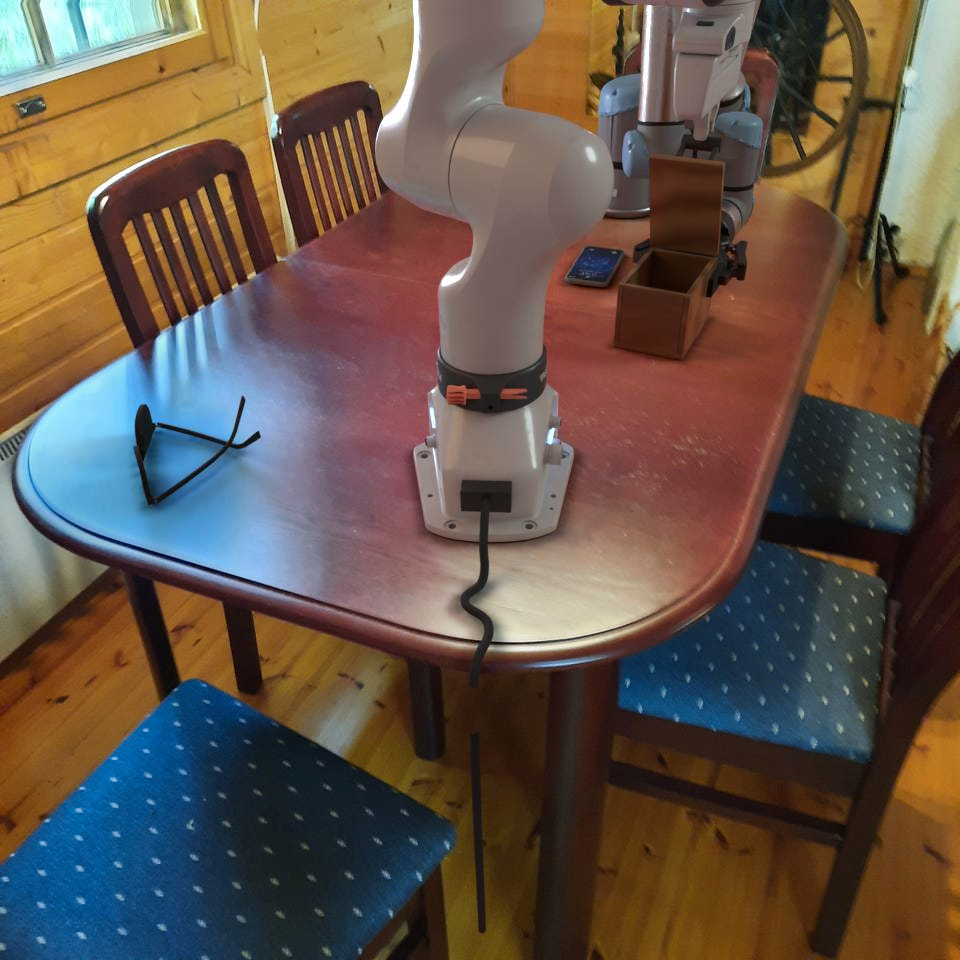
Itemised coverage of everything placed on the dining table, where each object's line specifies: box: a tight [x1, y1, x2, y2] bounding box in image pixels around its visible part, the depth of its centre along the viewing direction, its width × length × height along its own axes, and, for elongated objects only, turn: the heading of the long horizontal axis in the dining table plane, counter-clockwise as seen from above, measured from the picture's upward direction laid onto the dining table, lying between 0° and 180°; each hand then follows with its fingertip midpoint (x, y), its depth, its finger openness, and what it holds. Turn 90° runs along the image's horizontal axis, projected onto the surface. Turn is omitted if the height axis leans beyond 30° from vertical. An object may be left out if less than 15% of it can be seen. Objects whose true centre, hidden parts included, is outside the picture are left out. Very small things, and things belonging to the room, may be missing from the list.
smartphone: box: [564, 245, 625, 288], centre depth 144 cm, size 7×1×15 cm
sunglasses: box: [132, 395, 262, 506], centre depth 100 cm, size 17×14×5 cm
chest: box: [612, 248, 717, 361], centre depth 123 cm, size 15×10×10 cm
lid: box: [649, 134, 725, 256], centre depth 121 cm, size 15×10×9 cm
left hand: (703, 136), depth 118 cm, fingers closed, pressing on lid
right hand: (673, 282), depth 124 cm, fingers closed on chest, 10 cm apart
